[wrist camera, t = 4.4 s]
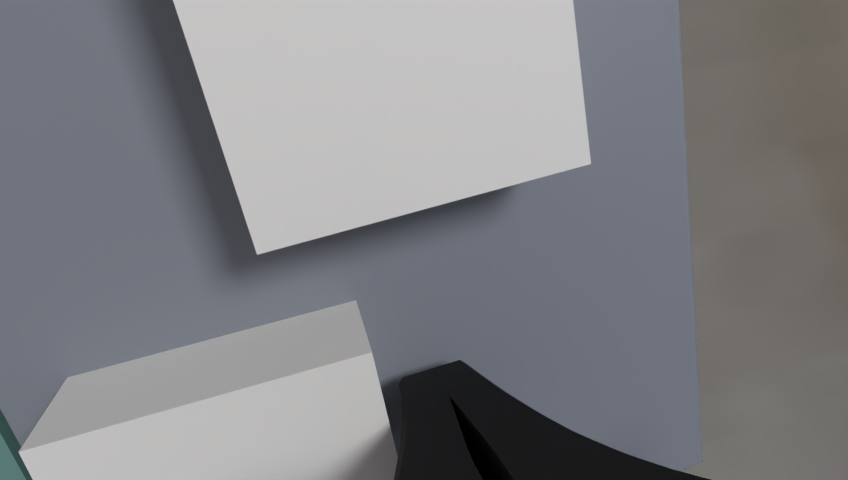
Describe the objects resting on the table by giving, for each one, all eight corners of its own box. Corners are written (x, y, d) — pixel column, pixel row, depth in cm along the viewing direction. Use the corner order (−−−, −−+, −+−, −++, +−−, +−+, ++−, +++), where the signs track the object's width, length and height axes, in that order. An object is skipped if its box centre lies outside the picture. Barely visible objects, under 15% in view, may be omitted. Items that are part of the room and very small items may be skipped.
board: (622, 384, 17) (702, 461, 14) (171, 536, 15) (142, 667, 12) (558, -224, 12) (661, -326, 9) (-134, -111, 10) (-328, -189, 7)
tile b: (536, 144, 11) (591, 164, 9) (261, 216, 10) (257, 254, 8) (490, -177, 9) (546, -238, 7) (154, -120, 8) (117, -170, 6)
